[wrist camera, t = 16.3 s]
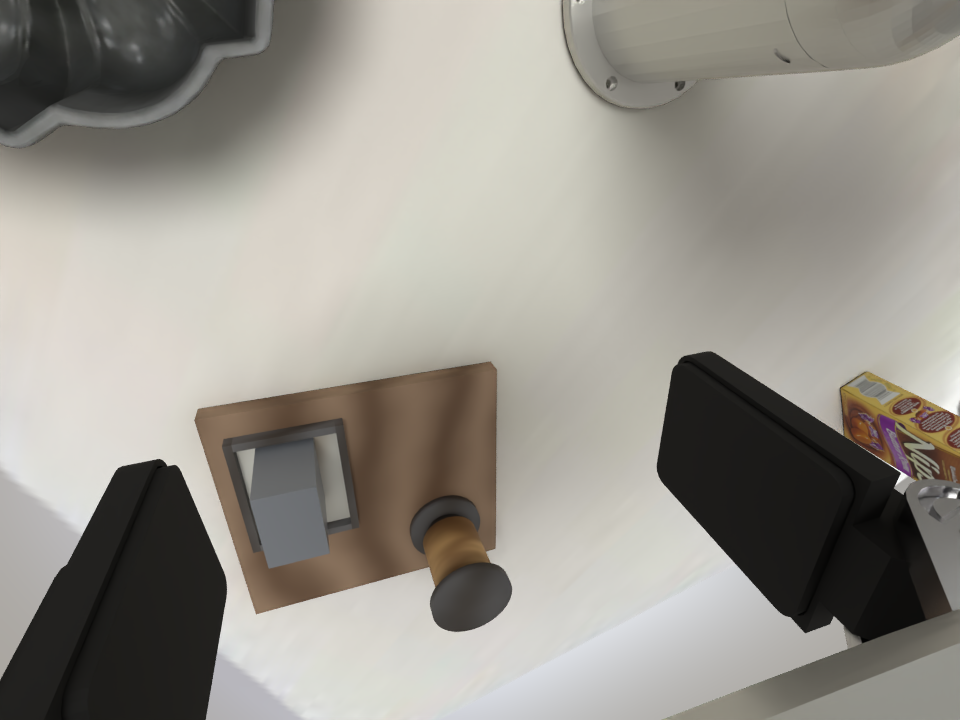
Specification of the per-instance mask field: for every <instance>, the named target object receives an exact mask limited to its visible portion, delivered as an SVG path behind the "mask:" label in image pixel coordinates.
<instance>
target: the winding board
mask: <svg viewBox="0 0 960 720" xmlns="http://www.w3.org/2000/svg"><path fill="white" fill-rule="evenodd" d="M496 403H497V369H496V368H495V367H494V366H493V364H492V363H491V362H486V363H479V364H473V365H467V366H461V367H455V368H449V369H442V370H436V371H430V372H424V373H418V374H412V375H405V376H399V377H393V378H387V379H381V380H375V381H368V382H362V383H356V384H350V385H344V386H337V387H331V388H325V389H319V390H313V391H307V392H300V393H294V394H288V395H282V396H276V397H270V398H263V399H257V400H251V401H245V402H239V403H232V404H226V405H220V406H214V407H208V408H202V409H198V410H197V414H196V417H195V424H196V427H197V430H198V433H199V436H200V439H201V442H202V446H203V449H204V452H205V455H206V458H207V461H208V464H209V468H210V471H211V474H212V477H213V480H214V483H215V486H216V490H217V493H218V496H219V499H220V502H221V505H222V508H223V512H224V515H225V518H226V521H227V524H228V527H229V530H230V534H231V537H232V540H233V543H234V546H235V549H236V552H237V556H238V559H239V562H240V565H241V568H242V571H243V574H244V578H245V581H246V584H247V587H248V590H249V593H250V596H251V600H252V603H253V606H254V609H255V612H256V614H259V613H262V612H266V611H270V610H273V609H277V608H281V607H284V606H288V605H292V604H295V603H299V602H303V601H306V600H310V599H314V598H317V597H321V596H325V595H328V594H332V593H336V592H339V591H343V590H347V589H350V588H354V587H358V586H361V585H365V584H368V583H372V582H376V581H379V580H383V579H387V578H390V577H394V576H398V575H401V574H405V573H409V572H412V571H416V570H420V569H423V568H427V567H430V571H431V574H432V577H433V581H434V584H435V587H436V588H435V589H434V591H433V593H432V596H431V600H430V607H431V611H432V615H433V618H434V621H435V622H436V624H437V625H438V626H439V627H441V628H443V629H445V630H448V631H454V632H461V631H468V630H472V629H475V628H478V627H480V626H482V625H484V624H486V623H488V622H490V621H491V620H493V619H494V618H495V617H497V616H498V615H499V614H500V613H501V612H502V611H503V610H504V608H505V607H506V606H507V604H508V602H509V600H510V598H511V594H512V586H511V583H510V580H509V578H508V576H507V574H506V572H505V571H504V569H502V568H501V567H500V566H498V565H496V564H492V563H490V560H489V558H488V556H487V554H486V551H489V550H493V549H495V546H496ZM308 438H314V443H315V448H316V454H317V459H318V464H319V469H320V474H321V479H322V485H323V490H324V495H325V504H326V515H327V527H328V539H329V550H330V554H326V555H322V556H318V557H314V558H310V559H306V560H302V561H298V562H294V563H290V564H286V565H282V566H278V567H274V568H270V569H269V568H268V564H267V561H266V557H265V554H264V550H263V547H262V543H261V540H260V536H259V533H258V529H257V525H256V522H255V518H254V515H253V511H252V508H251V504H250V492H251V483H252V474H253V464H254V455H255V448H260V447H265V446H270V445H276V444H281V443H286V442H292V441H297V440H302V439H308Z"/></svg>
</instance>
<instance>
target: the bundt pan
mask: <svg viewBox="0 0 960 720" xmlns="http://www.w3.org/2000/svg"><path fill="white" fill-rule="evenodd" d="M273 6H274V0H0V144H2V145H4V146H7V147H13V148H23V147H27V146H30V145H33V144H35V143H37V142H38V141H40V140H42V139H43V138H45V137H46V136H48V135H49V134H50V133H52V132H53V131H54V130H56V129H57V128H58V127H61V126H63V125H70V126H84V127H91V128H103V129H124V128H132V127H139V126H143V125H148V124H151V123H154V122H157V121H160V120H163V119H165V118H167V117H169V116H171V115H173V114H175V113H177V112H178V111H180V110H181V109H183V108H184V107H185V106H187V105H188V104H190V103H191V102H192V101H193V100H194V99H195V98H196V97H197V96H198V95H199V94H200V92H201V91H202V90H203V89H204V88H205V87H206V85H207V84H208V82H209V80H210V78H211V76H212V74H213V73H214V71H215V69H216V67H217V66H218V64H219V63H220V62H221V61H222V60H223V59H225V58H237V57H245V56H252V55H257V54H260V53H262V52H264V51H265V49H266V48H267V47H268V46H269V44H270V40H271V35H272V23H273Z"/></svg>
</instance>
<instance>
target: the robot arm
mask: <svg viewBox="0 0 960 720" xmlns="http://www.w3.org/2000/svg"><path fill="white" fill-rule="evenodd" d="M563 18H564V29H565V34H566V39H567V43H568V48H569V50H570V53H571V56H572V58H573V61H574V63H575V66H576V67H577V69H578V71H579V72H580V74H581V76H582V77H583V79H584V81H585V82H586V83H587V84H588V85H589V86H590V87H591V88H592V90H593V91H594V92H595V93H596V94H598V95H599V96H601V97H602V98H604V99H605V100H606V101H608V102H610V103H613V104H615V105H618V106H621V107H626V108H635V109H639V108H652V107H656V106H660V105H664V104H666V103H668V102H670V101H672V100H674V99H676V98H678V97H680V96H681V95H682V94H684V93H685V92H686V91H687V90H689V89H690V88H691V87H692V86H693V85H694V84H695V83H696V82H697V81H698V80H707V79H722V78H737V77H752V76H767V75H782V74H797V73H812V72H826V71H841V70H851V69H865V68H876V67H883V66H889V65H893V64H897V63H901V62H905V61H908V60H911V59H914V58H916V57H919V56H921V55H923V54H926V53H928V52H930V51H933V50H935V49H937V48H939V47H941V46H943V45H944V44H946V43H948V42H949V41H951V40H953V39H954V38H956V37H957V36H959V35H960V0H577V1H576V0H563ZM606 82H607V87H606ZM657 472H658V475H659V478H660V480H661V481H662V483H663V484H664V485H665V486H666V487H667V488H668V489H669V491H670V492H671V493H672V494H673V495H674V496H675V497H676V498H677V499H678V501H679V502H680V503H681V504H682V505H683V506H684V507H685V508H686V509H687V510H688V512H689V513H690V514H691V515H692V516H693V517H694V518H695V519H696V520H697V522H698V523H699V524H700V525H701V526H702V527H703V528H704V529H705V530H706V532H707V533H708V534H709V535H710V536H711V537H712V538H713V539H714V540H715V542H716V543H717V544H718V545H719V546H720V547H721V548H722V549H723V550H724V552H725V553H726V554H727V555H728V556H729V557H730V558H731V559H732V560H733V562H734V563H735V564H736V565H737V566H738V567H739V568H740V569H741V570H742V571H743V573H744V574H745V575H746V576H747V577H748V578H749V579H750V580H751V582H752V583H753V584H754V585H755V586H756V587H757V588H758V589H759V590H760V591H761V593H762V594H763V595H764V596H765V597H766V598H767V599H768V600H769V601H770V602H771V604H772V605H773V606H774V607H775V608H776V609H777V610H778V611H779V612H780V613H782V614H783V615H785V616H788V617H791V618H792V619H793V620H794V622H795V623H796V624H797V625H798V626H799V627H800V628H801V629H802V630H803V631H804V632H805V633H807V632H810V631H812V630H815V629H818V628H821V627H823V626H826V625H829V624H830V623H831V621H832V619H833V616H835V617H836V618H837V619H838V620H839V621H840V622H841V623H842V624H843V625H844V631H845V637H846V642H847V646H848V649H847V650H844V651H841V652H839V653H836V654H833V655H831V656H828V657H825V658H823V659H820V660H818V661H815V662H812V663H810V664H807V665H804V666H802V667H799V668H796V669H794V670H792V671H788V672H786V673H783V674H780V675H778V676H775V677H773V678H770V679H767V680H765V681H762V682H759V683H757V684H754V685H751V686H749V687H746V688H744V689H741V690H738V691H736V692H733V693H730V694H728V695H725V696H723V697H720V698H717V699H715V700H712V701H710V702H707V703H704V704H702V705H699V706H697V707H694V708H691V709H689V710H686V711H684V712H681V713H678V714H676V715H673V716H670V717H668V718H665V719H663V720H960V484H959V483H955V482H951V481H946V480H938V479H924V480H918V481H915V482H913V483H911V484H910V485H909V486H908V488H907V489H906V491H905V493H904V495H903V494H901V493H900V492H898V491H897V490H895V489H894V487H895V484H896V482H897V480H898V478H899V476H900V474H901V473H900V472H899V471H897V470H896V469H894V468H892V467H891V466H889V465H888V464H886V463H885V462H883V461H882V460H880V459H878V458H877V457H875V456H874V455H872V454H871V453H869V452H868V451H866V450H864V449H863V448H861V447H860V446H858V445H857V444H855V443H854V442H852V441H850V440H849V439H847V438H846V437H844V436H843V435H841V434H840V433H838V432H837V431H835V430H833V429H832V428H830V427H829V426H827V425H826V424H824V423H823V422H821V421H819V420H818V419H816V418H815V417H813V416H812V415H810V414H809V413H807V412H805V411H804V410H802V409H801V408H799V407H798V406H796V405H795V404H793V403H792V402H790V401H788V400H787V399H785V398H784V397H782V396H781V395H779V394H778V393H776V392H774V391H773V390H771V389H770V388H768V387H767V386H765V385H764V384H762V383H760V382H759V381H757V380H756V379H754V378H753V377H751V376H750V375H748V374H746V373H745V372H743V371H742V370H740V369H739V368H737V367H736V366H734V365H733V364H731V363H729V362H728V361H726V360H725V359H723V358H722V357H720V356H719V355H717V354H715V353H713V352H702V353H697V354H692V355H687V356H684V357H682V358H681V359H680V360H679V362H678V364H677V365H676V366H675V367H674V368H673V371H672V375H671V381H670V387H669V394H668V400H667V406H666V412H665V418H664V424H663V430H662V436H661V442H660V448H659V455H658V461H657ZM226 596H227V584H226V577H225V574H224V571H223V569H222V567H221V564H220V562H219V560H218V557H217V555H216V553H215V550H214V548H213V545H212V543H211V541H210V538H209V536H208V534H207V531H206V529H205V527H204V524H203V522H202V520H201V517H200V515H199V513H198V510H197V508H196V506H195V503H194V501H193V498H192V496H191V494H190V491H189V489H188V487H187V484H186V482H185V480H184V477H183V475H182V473H181V471H180V469H179V468H178V466H176V465H172V466H167V465H166V463H165V462H164V461H163V460H160V459H157V460H152V461H147V462H142V463H137V464H131V465H126V466H122V467H120V468H118V469H117V470H116V472H115V473H114V475H113V477H112V479H111V481H110V483H109V485H108V487H107V489H106V491H105V493H104V494H103V496H102V498H101V500H100V502H99V504H98V506H97V508H96V510H95V512H94V514H93V516H92V518H91V520H90V521H89V523H88V525H87V527H86V529H85V531H84V533H83V535H82V537H81V539H80V541H79V543H78V545H77V547H76V548H75V550H74V552H73V554H72V556H71V558H70V560H69V562H68V564H67V565H66V566H64V567H63V568H62V569H61V570H60V571H59V572H58V574H57V576H56V577H55V578H54V580H53V582H52V584H51V586H50V588H49V589H48V591H47V593H46V595H45V597H44V599H43V601H42V603H41V605H40V606H39V608H38V610H37V612H36V614H35V616H34V618H33V619H32V622H31V623H30V625H29V627H28V629H27V631H26V633H25V635H24V636H23V638H22V640H21V642H20V644H19V646H18V648H17V650H16V652H15V653H14V655H13V657H12V659H11V661H10V663H9V665H8V667H7V669H6V670H5V672H4V674H3V676H2V678H1V680H0V720H206V714H207V708H208V702H209V696H210V691H211V685H212V679H213V673H214V667H215V661H216V655H217V649H218V643H219V638H220V632H221V626H222V620H223V614H224V608H225V602H226Z"/></svg>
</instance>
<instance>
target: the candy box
mask: <svg viewBox="0 0 960 720" xmlns="http://www.w3.org/2000/svg"><path fill="white" fill-rule="evenodd" d="M841 396H842V407H843V420H844V436H845V437H847V438H848V439H850V440H852V441H853V442H855V443H857V444H858V445H860V446H862V447H863V448H865V449H866V450H868V451H870V452H871V453H873V454H874V455H876V456H877V457H879V458H881V459H882V460H884V461H885V462H887V463H889V464H890V465H892V466H894V467H895V468H897V469H898V470H900V471H902V472H903V473H905V474H906V475H908V476H910V477H911V478H913V479H914V480H916V481H918V480H924V479H938V480H946V481H951V482H955V483H959V484H960V417H959V416H957V415H955V414H953V413H951V412H949V411H947V410H945V409H943V408H941V407H939V406H937V405H935V404H933V403H931V402H929V401H927V400H925V399H923V398H921V397H919V396H917V395H915V394H913V393H911V392H909V391H907V390H905V389H903V388H901V387H899V386H896V385H894V384H892V383H890V382H888V381H886V380H884V379H882V378H880V377H878V376H876V375H874V374H872V373H870V372H865V373H864V374H862V375H860V376H859V377H857V378H856V379H854V380H853V381H851V382H849V383H848V384H846V385H845V386H844V387H842V388H841Z"/></svg>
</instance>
